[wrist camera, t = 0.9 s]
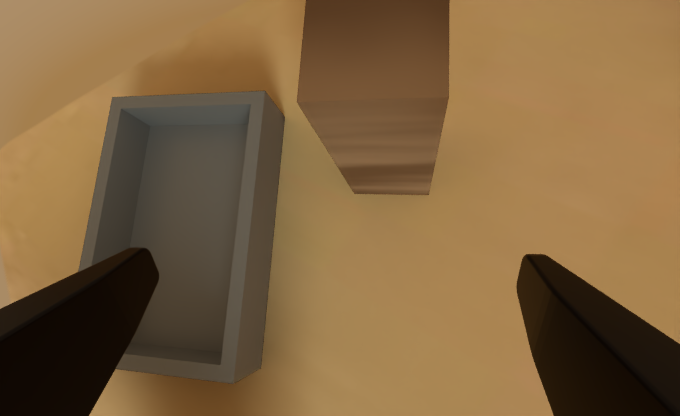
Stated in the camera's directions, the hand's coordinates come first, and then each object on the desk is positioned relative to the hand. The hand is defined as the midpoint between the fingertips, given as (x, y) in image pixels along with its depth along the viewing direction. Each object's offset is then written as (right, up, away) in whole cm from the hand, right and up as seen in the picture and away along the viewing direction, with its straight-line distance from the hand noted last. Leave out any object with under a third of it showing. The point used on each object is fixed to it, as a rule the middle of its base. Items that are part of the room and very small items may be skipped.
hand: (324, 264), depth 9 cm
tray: (-9, 0, +15) cm, 18 cm away
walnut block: (+4, +4, +14) cm, 15 cm away
